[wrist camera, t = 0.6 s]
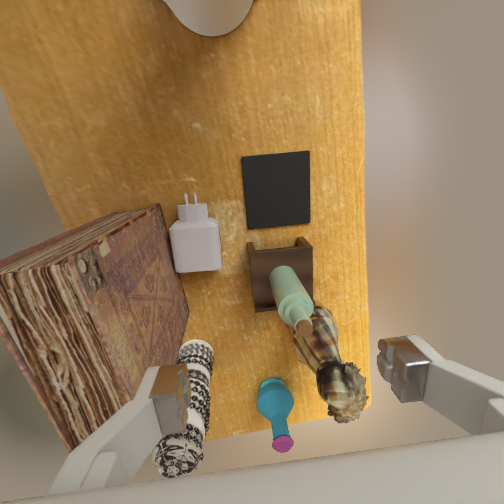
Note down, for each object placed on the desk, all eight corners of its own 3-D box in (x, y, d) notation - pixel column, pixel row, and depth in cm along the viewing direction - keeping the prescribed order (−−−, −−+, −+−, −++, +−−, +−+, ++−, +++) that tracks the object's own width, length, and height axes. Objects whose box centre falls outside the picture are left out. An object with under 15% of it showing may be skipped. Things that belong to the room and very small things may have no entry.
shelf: (247, 242, 55) (249, 255, 47) (302, 236, 55) (314, 248, 47) (252, 292, 59) (255, 312, 51) (303, 286, 59) (315, 305, 51)
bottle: (267, 267, 49) (283, 315, 34) (296, 264, 49) (326, 310, 34) (269, 293, 51) (285, 349, 36) (297, 290, 51) (325, 344, 36)
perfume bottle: (282, 369, 67) (296, 425, 52) (294, 393, 70) (310, 452, 55) (249, 382, 67) (254, 441, 53) (263, 405, 70) (271, 467, 56)
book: (113, 210, 50) (-37, 271, 22) (160, 202, 51) (70, 253, 22) (150, 319, 59) (75, 464, 31) (190, 312, 59) (152, 450, 31)
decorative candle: (177, 368, 64) (145, 488, 40) (177, 337, 61) (143, 447, 37) (214, 369, 65) (204, 487, 41) (216, 338, 62) (206, 447, 38)
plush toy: (339, 286, 59) (370, 381, 36) (349, 332, 64) (383, 441, 41) (279, 298, 62) (274, 392, 40) (294, 340, 67) (296, 446, 45)
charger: (215, 190, 51) (222, 261, 56) (168, 193, 50) (179, 264, 55) (214, 192, 46) (221, 269, 51) (161, 196, 46) (174, 273, 51)
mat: (241, 156, 49) (241, 156, 48) (308, 150, 50) (309, 150, 49) (248, 228, 54) (248, 229, 53) (309, 222, 54) (310, 222, 54)
